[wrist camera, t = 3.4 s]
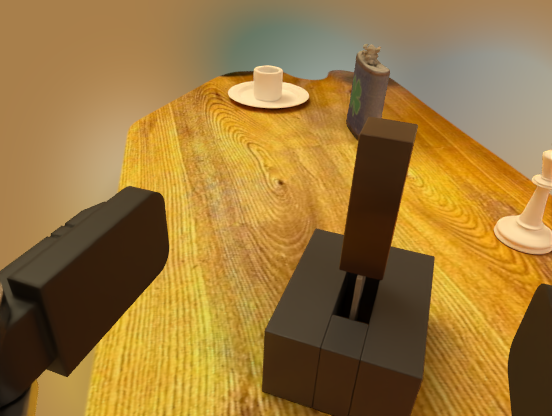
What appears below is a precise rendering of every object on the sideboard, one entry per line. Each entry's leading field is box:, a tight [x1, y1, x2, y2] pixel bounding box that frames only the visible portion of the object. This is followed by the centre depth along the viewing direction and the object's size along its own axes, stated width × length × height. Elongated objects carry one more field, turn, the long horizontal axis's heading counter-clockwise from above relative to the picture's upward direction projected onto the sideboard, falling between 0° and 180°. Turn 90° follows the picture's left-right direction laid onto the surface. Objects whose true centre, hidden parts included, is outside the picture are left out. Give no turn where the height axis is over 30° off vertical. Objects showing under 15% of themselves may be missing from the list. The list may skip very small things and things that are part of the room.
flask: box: [346, 44, 390, 140], centre depth 57 cm, size 9×3×11 cm, turn 4°
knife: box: [339, 117, 418, 321], centre depth 25 cm, size 2×3×15 cm
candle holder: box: [228, 66, 309, 108], centre depth 67 cm, size 12×12×4 cm
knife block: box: [262, 229, 435, 416], centre depth 28 cm, size 8×10×5 cm
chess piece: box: [494, 150, 552, 254], centre depth 38 cm, size 5×5×10 cm
